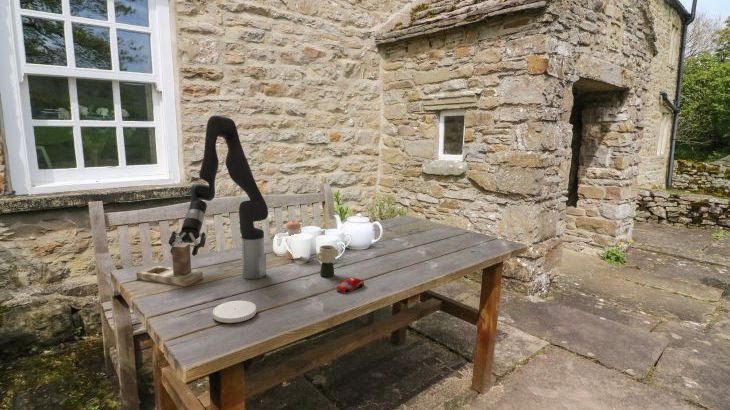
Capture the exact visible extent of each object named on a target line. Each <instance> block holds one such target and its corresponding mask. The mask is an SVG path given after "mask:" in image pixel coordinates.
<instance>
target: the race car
mask: <svg viewBox="0 0 730 410" xmlns="http://www.w3.org/2000/svg"><path fill="white" fill-rule="evenodd" d="M364 284H365V283H364V280H363V278H360V277H350V278H347V279H345V280H342V282H341V283H339V284H338V285H337V286H336V291H337V293H338V292H339V293H342V294H348V293H349V292H351V291H354V290H358V289H361V288H362V287H364V286H365V285H364Z"/></svg>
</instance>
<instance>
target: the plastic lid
mask: <svg viewBox="0 0 730 410" xmlns="http://www.w3.org/2000/svg"><path fill="white" fill-rule="evenodd" d="M256 313H257V305H256V303H254V302H251V301H248V300H233V301H226V302H223V303H221V304H218V305H217V306H216V307H214V308H213V309H212V318H213V319H214V320H215V321H217V322H220V323H228V324H229V323H230V324H233V323H240V322H244V321H247V320H249V319H251V318H253V317H254V316H255V315H256Z"/></svg>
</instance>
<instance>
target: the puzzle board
mask: <svg viewBox="0 0 730 410" xmlns="http://www.w3.org/2000/svg"><path fill="white" fill-rule="evenodd" d="M135 275H136V280H139V281H146V282H147V281H148V282H155V283H161V284H168V285H169V284H170V285H175V286H180V287H181V286H183V287H187V286H189V285H192V284H194V283H196V282H198V281H200V280H202V279H203V278H204V272H203V271H199V270H192V269H191V272H190V273H189V274H187V275H186V276H180V275H173V267H168V266H162V265H152V266H150V267H147V268H144V269H142V270H140V271H138V272H136V274H135Z"/></svg>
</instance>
